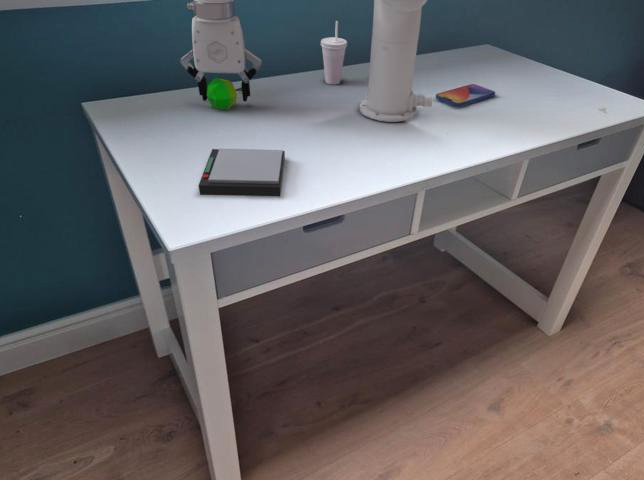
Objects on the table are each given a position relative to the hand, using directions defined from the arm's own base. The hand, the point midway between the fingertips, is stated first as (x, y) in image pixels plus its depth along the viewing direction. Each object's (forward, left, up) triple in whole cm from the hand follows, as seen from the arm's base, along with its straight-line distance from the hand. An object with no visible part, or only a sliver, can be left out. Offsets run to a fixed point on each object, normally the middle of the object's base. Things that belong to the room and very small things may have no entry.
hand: (225, 98), depth 109 cm
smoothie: (-24, -18, -2) cm, 30 cm away
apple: (0, 0, -2) cm, 2 cm away
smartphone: (-56, -10, -2) cm, 57 cm away
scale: (-8, +31, -2) cm, 32 cm away
